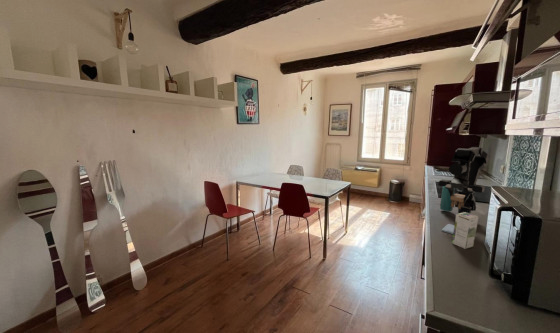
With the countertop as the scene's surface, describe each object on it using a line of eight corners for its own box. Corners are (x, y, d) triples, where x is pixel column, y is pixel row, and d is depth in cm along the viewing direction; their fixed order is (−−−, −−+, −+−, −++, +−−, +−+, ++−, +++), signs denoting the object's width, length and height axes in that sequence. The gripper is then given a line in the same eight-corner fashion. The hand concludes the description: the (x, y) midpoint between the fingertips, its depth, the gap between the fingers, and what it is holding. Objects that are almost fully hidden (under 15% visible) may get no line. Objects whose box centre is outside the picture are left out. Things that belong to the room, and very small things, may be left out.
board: (448, 225, 124) (448, 223, 124) (469, 230, 117) (469, 229, 117) (441, 230, 117) (441, 229, 117) (463, 237, 110) (463, 235, 110)
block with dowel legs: (453, 203, 128) (455, 193, 127) (465, 206, 124) (466, 195, 123) (449, 207, 123) (450, 196, 122) (461, 209, 119) (462, 198, 118)
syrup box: (459, 241, 107) (463, 211, 104) (474, 247, 102) (478, 216, 99) (451, 243, 105) (455, 213, 102) (465, 249, 100) (470, 217, 97)
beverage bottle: (454, 213, 140) (458, 181, 137) (442, 213, 141) (446, 181, 138) (448, 210, 146) (453, 179, 143) (437, 209, 148) (441, 178, 144)
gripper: (436, 171, 123) (432, 200, 125) (481, 177, 108) (477, 209, 111) (443, 169, 130) (439, 196, 132) (486, 174, 115) (482, 204, 118)
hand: (458, 201), depth 123 cm, fingers closed on block with dowel legs, 5 cm apart
